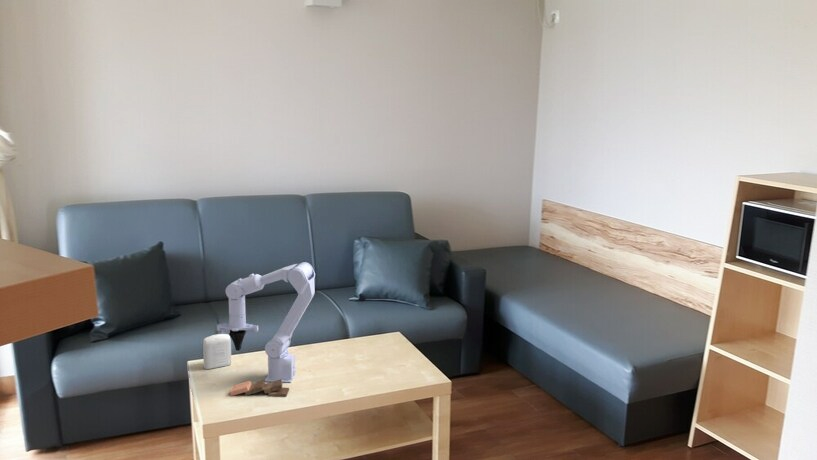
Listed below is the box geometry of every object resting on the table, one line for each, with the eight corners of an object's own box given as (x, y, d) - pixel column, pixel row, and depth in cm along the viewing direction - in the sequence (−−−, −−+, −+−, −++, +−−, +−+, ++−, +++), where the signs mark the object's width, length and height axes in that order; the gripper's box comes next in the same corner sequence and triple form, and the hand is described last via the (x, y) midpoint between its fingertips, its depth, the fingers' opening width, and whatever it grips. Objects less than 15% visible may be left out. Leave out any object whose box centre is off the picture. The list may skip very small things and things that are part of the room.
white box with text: (229, 361, 237) (228, 330, 235) (233, 365, 234) (232, 334, 231) (202, 366, 232) (201, 335, 229) (205, 370, 228) (204, 339, 226)
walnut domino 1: (248, 389, 214) (265, 383, 214) (246, 395, 210) (262, 390, 210) (247, 385, 214) (263, 380, 214) (244, 392, 209) (261, 386, 209)
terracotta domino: (234, 389, 214) (251, 384, 214) (231, 395, 209) (248, 391, 209) (233, 385, 214) (250, 380, 214) (229, 391, 209) (246, 387, 209)
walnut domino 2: (265, 388, 215) (282, 382, 216) (265, 393, 210) (282, 388, 211) (264, 384, 214) (281, 379, 215) (263, 389, 210) (281, 384, 210)
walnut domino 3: (271, 391, 215) (289, 391, 215) (268, 397, 210) (286, 398, 210) (271, 387, 214) (289, 387, 214) (268, 393, 209) (286, 394, 209)
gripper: (213, 316, 218) (215, 352, 221) (254, 318, 218) (255, 354, 220) (220, 310, 225) (221, 345, 228) (259, 311, 225) (260, 346, 227)
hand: (238, 349), depth 225 cm, fingers closed
